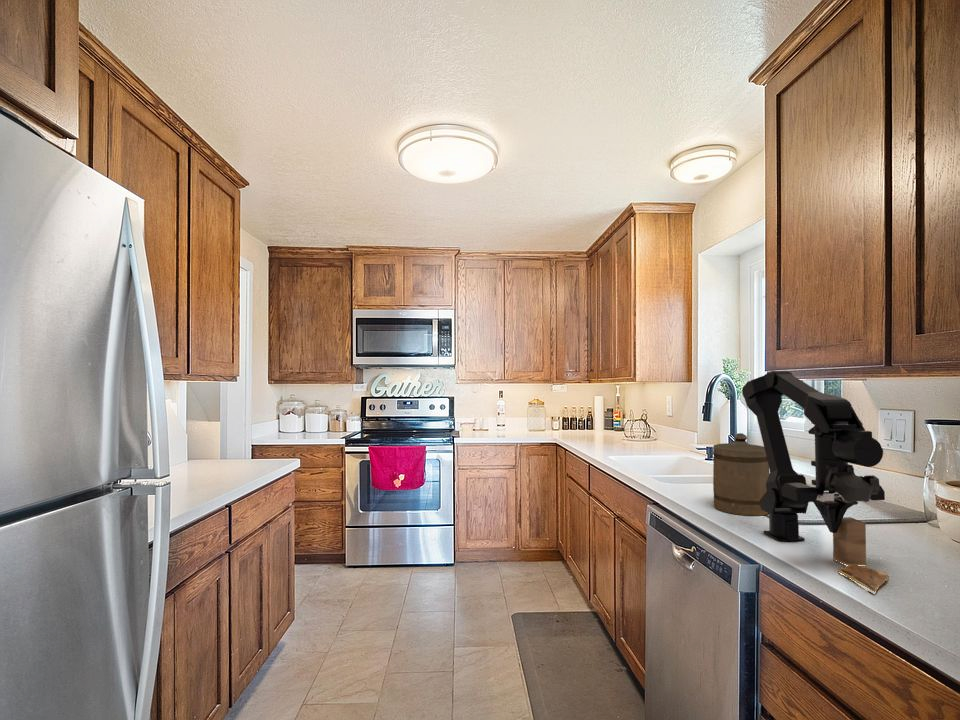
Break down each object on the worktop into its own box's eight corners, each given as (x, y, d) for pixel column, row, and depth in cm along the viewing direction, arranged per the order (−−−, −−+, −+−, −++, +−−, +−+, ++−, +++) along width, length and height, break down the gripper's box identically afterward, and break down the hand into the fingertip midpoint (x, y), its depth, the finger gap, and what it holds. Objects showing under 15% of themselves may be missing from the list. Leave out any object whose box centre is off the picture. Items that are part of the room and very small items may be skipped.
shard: (874, 598, 93) (874, 588, 93) (826, 585, 99) (825, 575, 99) (891, 582, 100) (891, 572, 100) (845, 570, 106) (844, 561, 106)
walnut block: (833, 559, 110) (832, 517, 111) (851, 559, 111) (850, 517, 111) (847, 567, 106) (847, 523, 107) (866, 566, 107) (865, 522, 107)
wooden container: (754, 502, 158) (752, 430, 158) (781, 516, 143) (779, 436, 143) (705, 502, 158) (704, 430, 158) (727, 516, 143) (726, 437, 144)
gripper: (814, 466, 100) (816, 547, 100) (907, 464, 101) (909, 544, 101) (779, 456, 111) (780, 529, 111) (862, 454, 112) (864, 526, 112)
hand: (833, 532), depth 108 cm, fingers closed
